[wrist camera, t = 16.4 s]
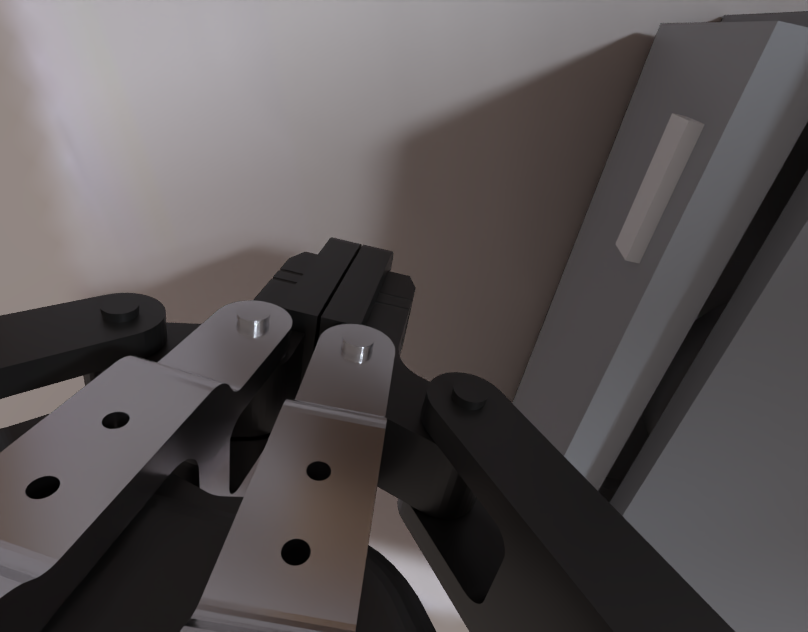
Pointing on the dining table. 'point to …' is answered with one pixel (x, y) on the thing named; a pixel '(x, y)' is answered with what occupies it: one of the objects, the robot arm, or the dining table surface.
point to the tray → (668, 230)
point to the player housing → (740, 442)
